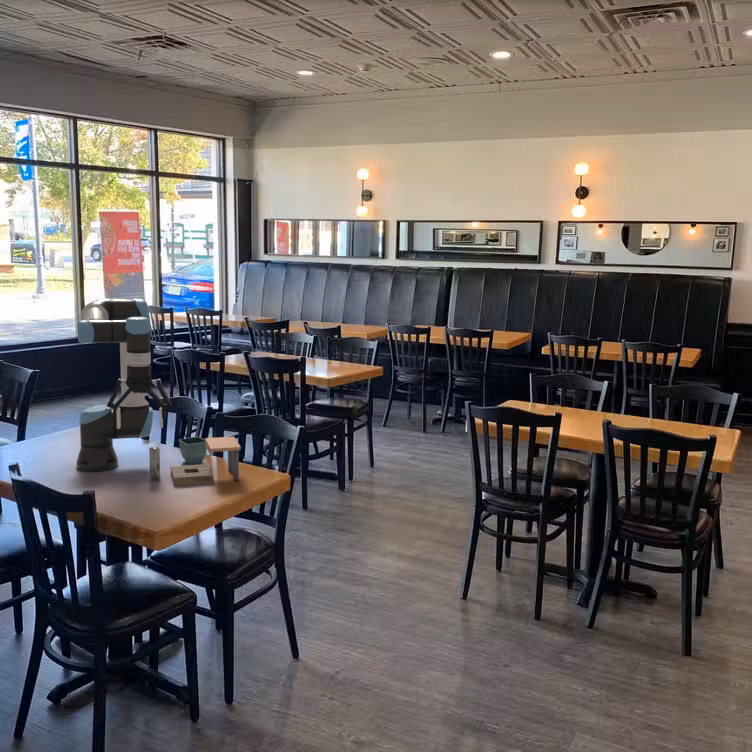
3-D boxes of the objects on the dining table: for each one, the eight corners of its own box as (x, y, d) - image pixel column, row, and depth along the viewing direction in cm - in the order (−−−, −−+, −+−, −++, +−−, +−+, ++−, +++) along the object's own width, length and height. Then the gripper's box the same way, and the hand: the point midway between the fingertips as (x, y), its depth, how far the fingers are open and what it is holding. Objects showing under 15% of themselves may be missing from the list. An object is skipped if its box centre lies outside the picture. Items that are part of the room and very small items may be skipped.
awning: (205, 471, 293) (205, 438, 290) (233, 469, 296) (234, 436, 294) (210, 483, 279) (210, 448, 277) (240, 481, 283) (240, 446, 280)
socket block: (170, 474, 288) (170, 466, 287) (208, 471, 293) (208, 464, 292) (174, 485, 275) (173, 477, 274) (213, 482, 280) (213, 475, 279)
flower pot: (187, 466, 298) (186, 444, 297) (178, 460, 305) (178, 439, 304) (208, 463, 303) (208, 441, 302) (199, 457, 310) (199, 436, 309)
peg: (149, 478, 282) (149, 447, 280) (159, 477, 284) (159, 446, 281) (150, 481, 279) (149, 449, 277) (160, 480, 280) (159, 449, 278)
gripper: (96, 366, 243) (98, 430, 247) (177, 367, 247) (177, 430, 251) (100, 362, 250) (102, 425, 254) (179, 363, 254) (179, 424, 258)
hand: (140, 427), depth 252 cm, fingers open, 13 cm apart
